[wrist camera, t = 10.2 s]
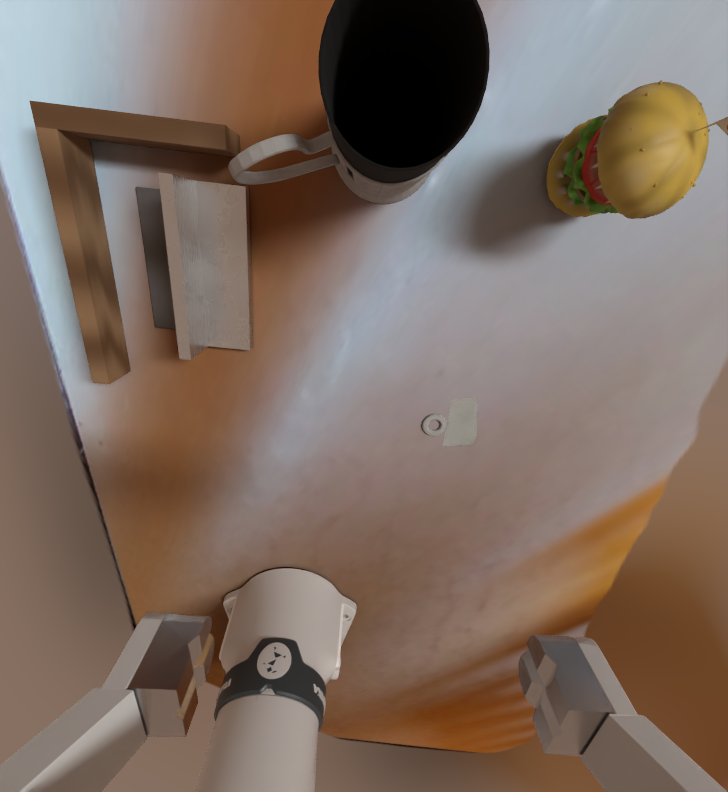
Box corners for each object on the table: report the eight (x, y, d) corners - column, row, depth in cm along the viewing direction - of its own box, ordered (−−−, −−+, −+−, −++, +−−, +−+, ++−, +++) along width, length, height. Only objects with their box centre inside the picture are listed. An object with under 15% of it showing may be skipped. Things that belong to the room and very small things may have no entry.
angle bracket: (188, 180, 30) (158, 172, 26) (248, 187, 31) (229, 180, 26) (202, 342, 36) (179, 358, 32) (252, 347, 37) (237, 364, 32)
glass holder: (451, 178, 31) (522, 140, 17) (298, 245, 33) (253, 257, 19) (420, 52, 27) (477, -123, 14) (251, 135, 29) (155, 56, 16)
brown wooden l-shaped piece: (247, 381, 38) (237, 395, 35) (115, 369, 38) (93, 382, 35) (239, 136, 29) (224, 125, 26) (66, 114, 29) (29, 100, 26)
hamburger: (521, 158, 30) (611, 119, 19) (605, 92, 28) (757, 7, 17) (560, 239, 33) (659, 245, 22) (640, 183, 31) (791, 159, 20)
